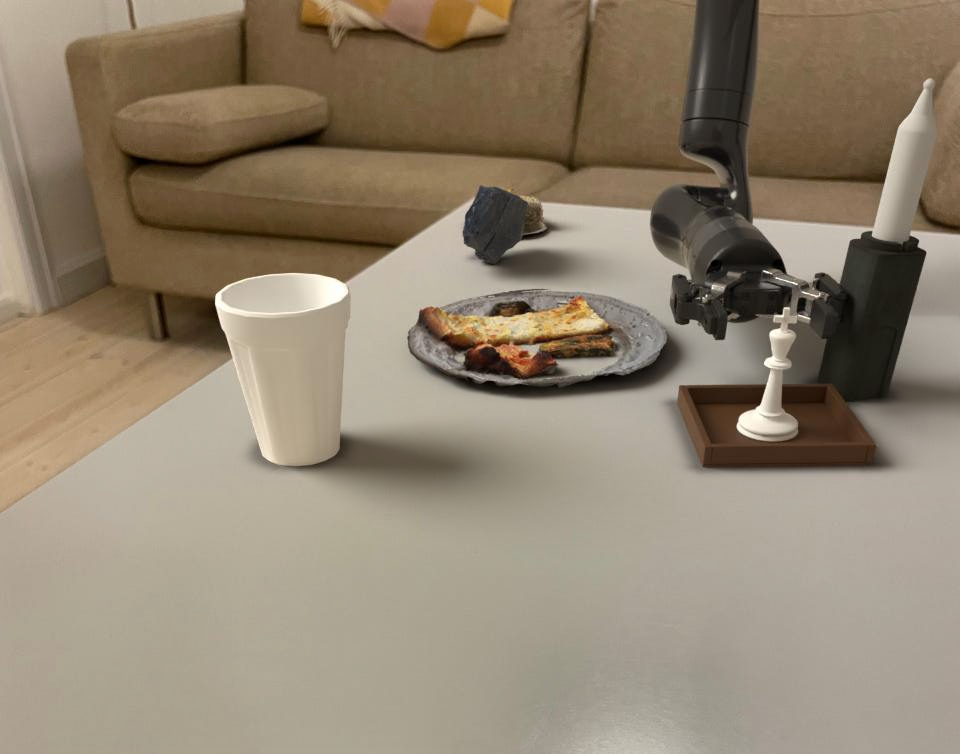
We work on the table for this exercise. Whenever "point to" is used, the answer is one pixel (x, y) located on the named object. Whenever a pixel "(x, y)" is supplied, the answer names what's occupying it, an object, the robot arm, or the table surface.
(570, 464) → the table surface
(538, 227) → the cake
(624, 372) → the food plate
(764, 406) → the chess piece
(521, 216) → the stone
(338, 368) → the cup
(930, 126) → the candle
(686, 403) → the serving tray
